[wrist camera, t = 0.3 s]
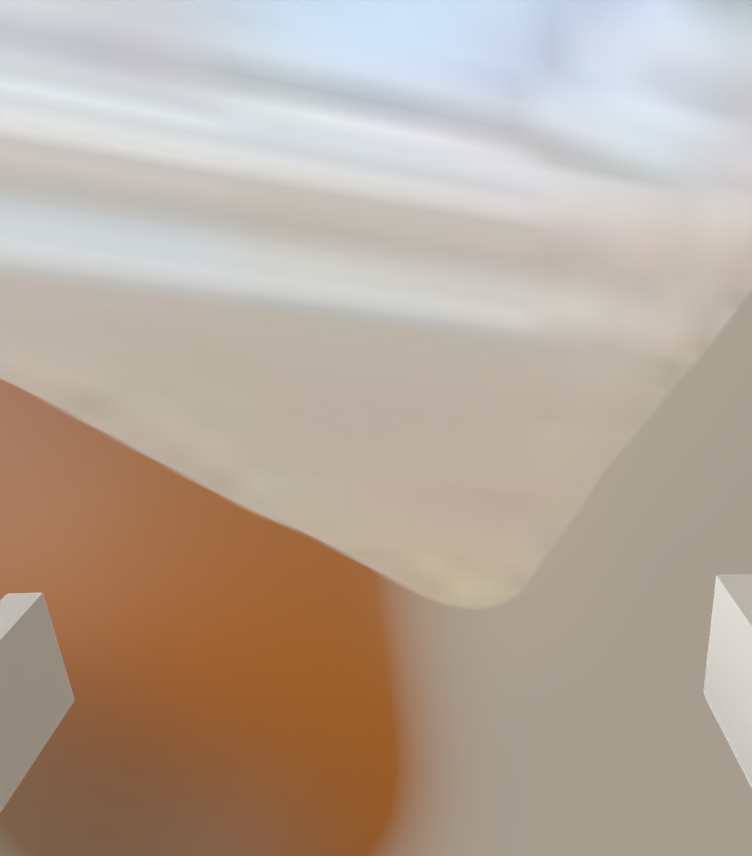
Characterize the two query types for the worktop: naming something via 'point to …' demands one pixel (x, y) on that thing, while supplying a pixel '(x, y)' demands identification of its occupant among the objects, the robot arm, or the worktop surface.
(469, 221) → the worktop surface
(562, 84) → the worktop surface
